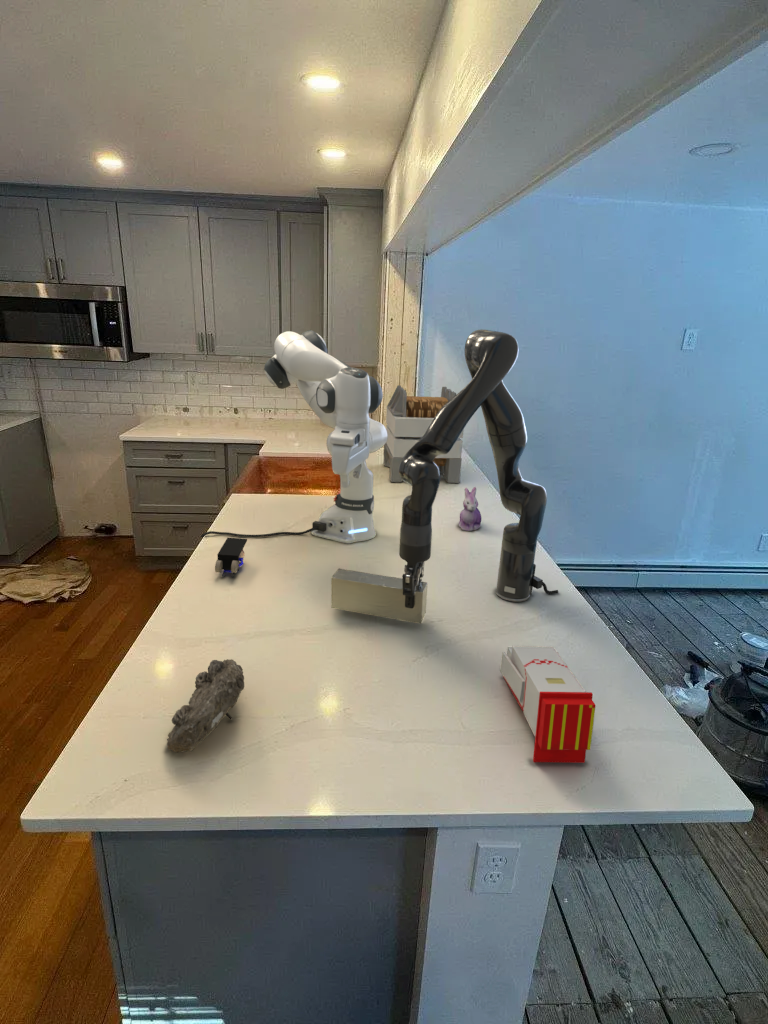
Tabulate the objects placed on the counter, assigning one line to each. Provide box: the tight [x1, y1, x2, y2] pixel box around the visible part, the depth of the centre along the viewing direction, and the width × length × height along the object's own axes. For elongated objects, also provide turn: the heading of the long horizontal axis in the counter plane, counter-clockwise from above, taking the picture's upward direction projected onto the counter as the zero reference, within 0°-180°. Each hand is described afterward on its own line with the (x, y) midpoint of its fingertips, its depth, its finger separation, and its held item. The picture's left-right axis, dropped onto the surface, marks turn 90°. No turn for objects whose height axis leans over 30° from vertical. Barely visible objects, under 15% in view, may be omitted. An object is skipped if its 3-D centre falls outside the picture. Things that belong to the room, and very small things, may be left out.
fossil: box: [166, 658, 245, 754], centre depth 106 cm, size 22×10×15 cm
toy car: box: [214, 537, 248, 578], centre depth 166 cm, size 7×8×15 cm
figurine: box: [458, 486, 482, 532], centre depth 206 cm, size 9×10×15 cm
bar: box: [330, 568, 429, 624], centre depth 143 cm, size 24×6×9 cm, turn 74°
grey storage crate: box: [383, 384, 465, 484], centre depth 268 cm, size 34×33×41 cm
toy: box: [499, 645, 597, 764], centre depth 112 cm, size 12×13×30 cm
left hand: (351, 482), depth 154 cm, fingers open, 8 cm apart
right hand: (412, 601), depth 141 cm, fingers closed on bar, 5 cm apart
